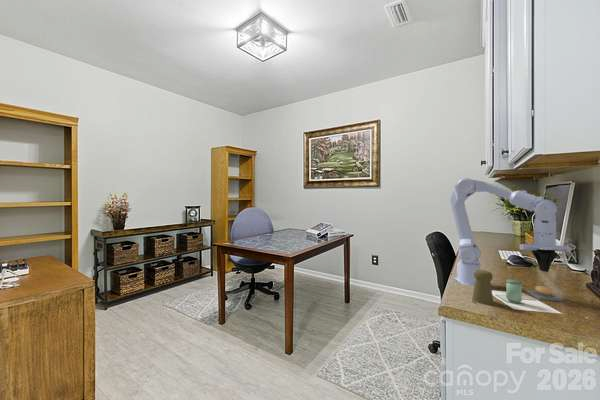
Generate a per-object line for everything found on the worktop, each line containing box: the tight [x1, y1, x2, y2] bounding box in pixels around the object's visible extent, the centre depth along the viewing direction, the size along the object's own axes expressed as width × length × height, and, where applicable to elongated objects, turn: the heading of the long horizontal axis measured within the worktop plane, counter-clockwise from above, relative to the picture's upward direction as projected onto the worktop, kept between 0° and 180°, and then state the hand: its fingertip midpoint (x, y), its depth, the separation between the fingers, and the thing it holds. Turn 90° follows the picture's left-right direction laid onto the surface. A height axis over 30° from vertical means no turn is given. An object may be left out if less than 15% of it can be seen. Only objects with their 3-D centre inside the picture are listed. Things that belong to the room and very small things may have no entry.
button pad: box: [525, 289, 564, 303], centre depth 91 cm, size 7×7×2 cm
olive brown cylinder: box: [471, 269, 494, 306], centre depth 86 cm, size 6×6×11 cm
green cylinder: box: [505, 278, 523, 304], centre depth 86 cm, size 4×4×7 cm
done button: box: [534, 285, 553, 295], centre depth 91 cm, size 4×4×2 cm
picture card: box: [492, 289, 563, 315], centre depth 87 cm, size 18×13×1 cm
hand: (544, 271), depth 91 cm, fingers closed
